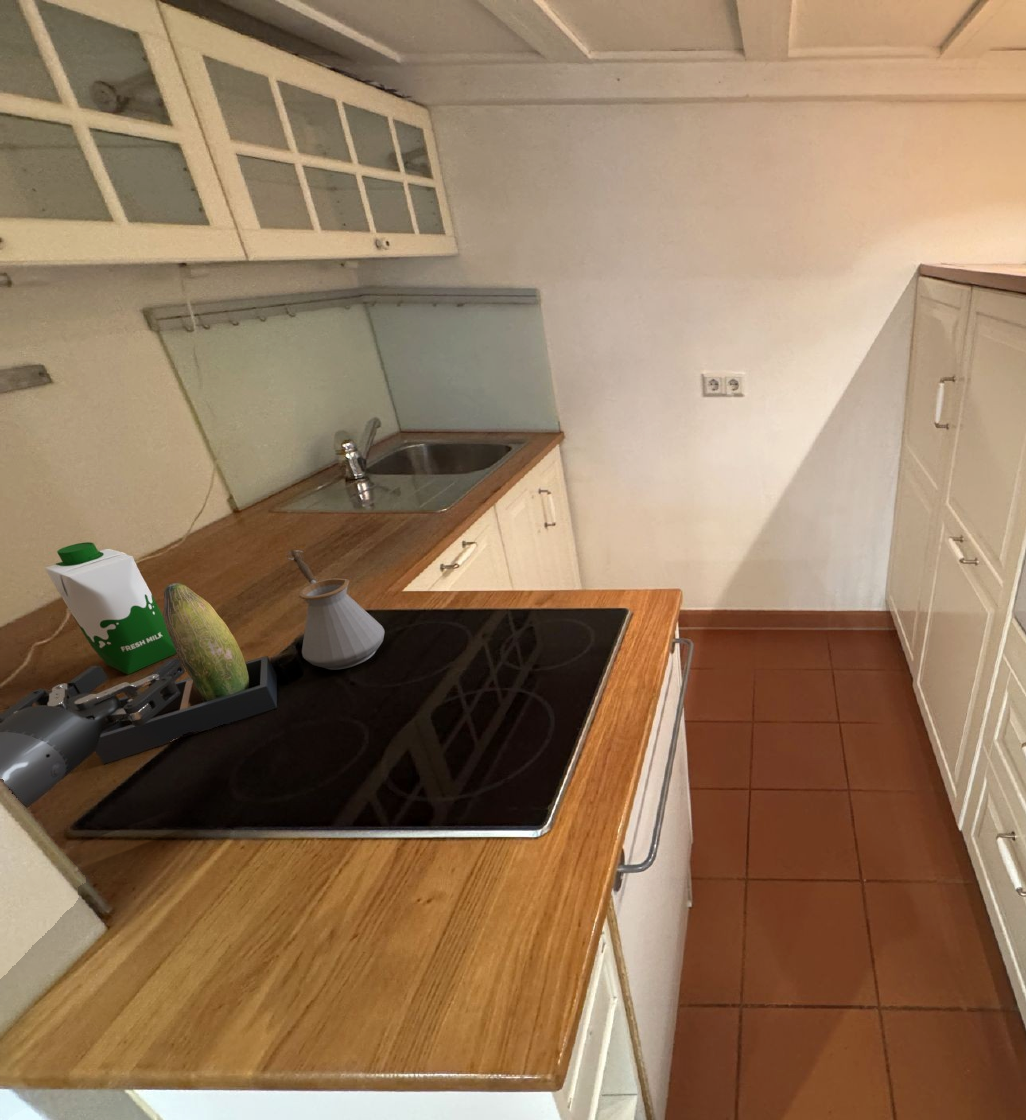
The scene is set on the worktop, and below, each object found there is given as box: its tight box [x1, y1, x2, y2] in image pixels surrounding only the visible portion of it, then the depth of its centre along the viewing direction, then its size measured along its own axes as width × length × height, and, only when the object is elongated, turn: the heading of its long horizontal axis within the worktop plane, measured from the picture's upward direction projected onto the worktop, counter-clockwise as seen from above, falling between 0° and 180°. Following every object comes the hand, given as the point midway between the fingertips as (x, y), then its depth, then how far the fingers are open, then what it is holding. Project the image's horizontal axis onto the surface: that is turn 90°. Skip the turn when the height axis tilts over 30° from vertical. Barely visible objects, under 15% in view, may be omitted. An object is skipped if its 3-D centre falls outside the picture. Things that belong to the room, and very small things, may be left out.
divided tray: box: [94, 655, 278, 765], centre depth 87 cm, size 18×10×4 cm, turn 126°
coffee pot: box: [286, 549, 386, 671], centre depth 100 cm, size 21×12×15 cm, turn 48°
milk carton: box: [44, 541, 177, 675], centre depth 97 cm, size 9×9×20 cm
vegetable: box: [162, 582, 250, 702], centre depth 85 cm, size 6×6×20 cm
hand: (139, 668), depth 75 cm, fingers open, 8 cm apart
